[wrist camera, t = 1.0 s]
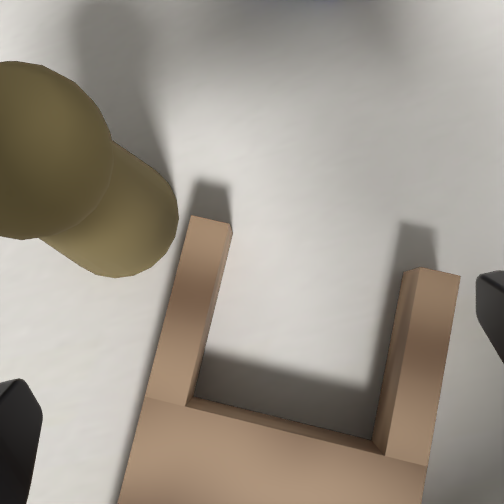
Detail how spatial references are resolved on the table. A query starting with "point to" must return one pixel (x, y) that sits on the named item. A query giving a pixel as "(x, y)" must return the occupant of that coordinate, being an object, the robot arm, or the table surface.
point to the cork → (76, 178)
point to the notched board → (278, 429)
